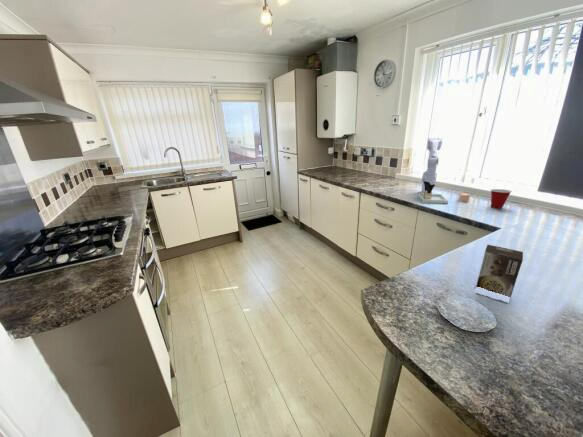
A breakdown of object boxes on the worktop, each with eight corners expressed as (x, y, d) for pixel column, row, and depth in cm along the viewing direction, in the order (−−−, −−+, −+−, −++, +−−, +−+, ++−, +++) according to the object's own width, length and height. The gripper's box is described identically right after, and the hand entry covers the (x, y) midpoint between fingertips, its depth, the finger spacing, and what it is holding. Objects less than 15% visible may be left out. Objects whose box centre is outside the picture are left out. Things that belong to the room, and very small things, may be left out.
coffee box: (509, 294, 81) (524, 251, 75) (508, 304, 77) (524, 260, 71) (476, 284, 87) (487, 243, 81) (473, 292, 82) (485, 250, 77)
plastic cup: (499, 204, 167) (504, 187, 163) (510, 209, 157) (516, 191, 153) (482, 204, 168) (486, 187, 164) (492, 209, 158) (497, 192, 154)
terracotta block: (458, 199, 181) (460, 193, 179) (465, 200, 180) (467, 193, 178) (461, 201, 177) (462, 195, 175) (468, 201, 176) (469, 195, 174)
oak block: (423, 197, 189) (424, 190, 187) (429, 197, 188) (430, 191, 186) (424, 198, 185) (425, 192, 183) (431, 198, 184) (432, 192, 182)
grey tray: (417, 196, 193) (418, 193, 192) (440, 197, 189) (441, 194, 188) (422, 202, 177) (423, 199, 176) (447, 203, 173) (448, 200, 172)
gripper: (439, 176, 172) (436, 194, 177) (434, 172, 185) (431, 189, 190) (428, 176, 174) (425, 194, 179) (424, 172, 187) (421, 189, 192)
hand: (427, 191), depth 185 cm, fingers open, 7 cm apart
